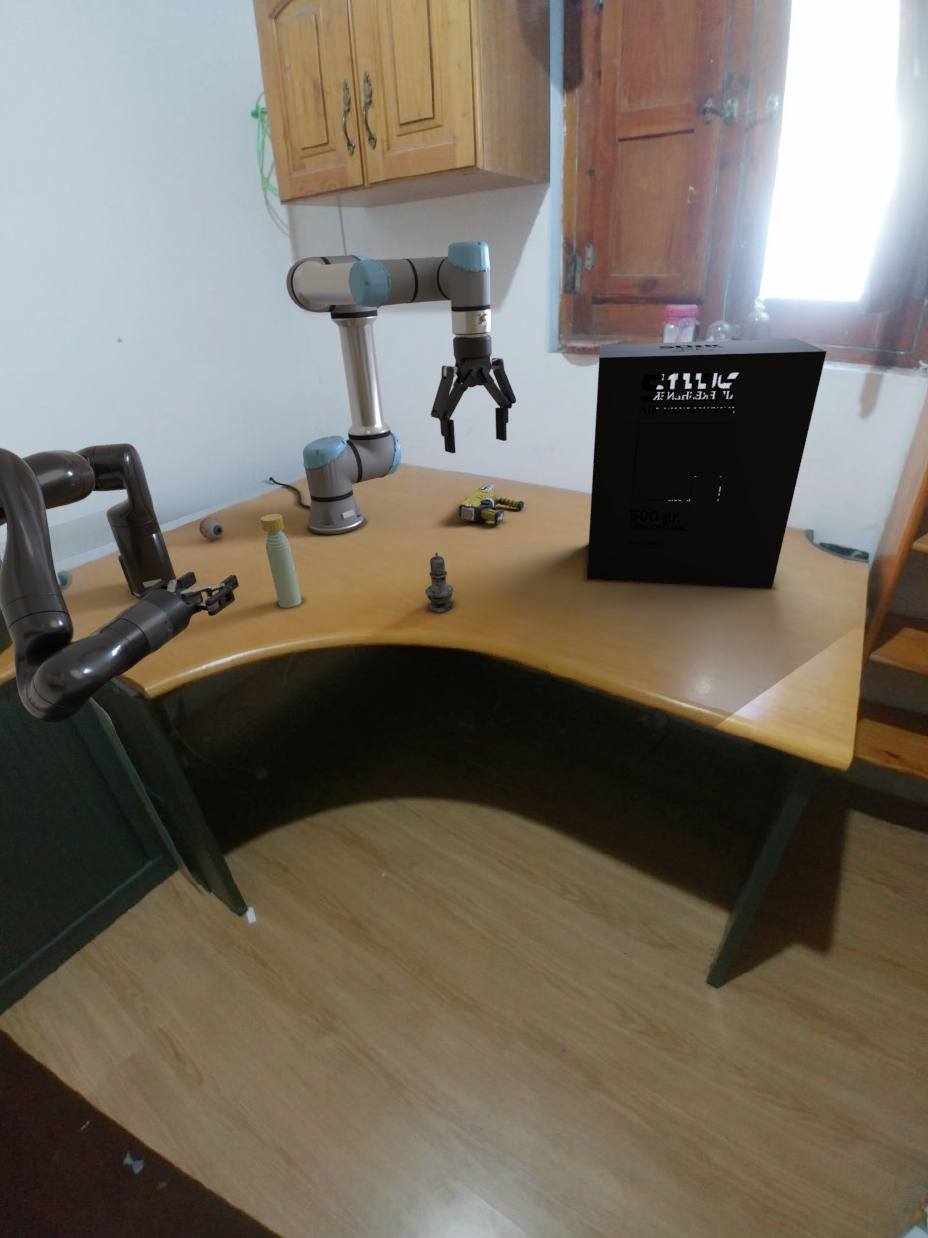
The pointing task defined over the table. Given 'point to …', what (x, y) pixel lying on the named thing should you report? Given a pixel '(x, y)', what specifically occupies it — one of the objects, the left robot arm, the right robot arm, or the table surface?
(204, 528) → the eyeball
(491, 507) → the toy gun
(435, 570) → the grey chess piece
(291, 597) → the bottle
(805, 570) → the table surface
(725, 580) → the cardboard box
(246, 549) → the table surface
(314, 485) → the right robot arm
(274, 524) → the cap
